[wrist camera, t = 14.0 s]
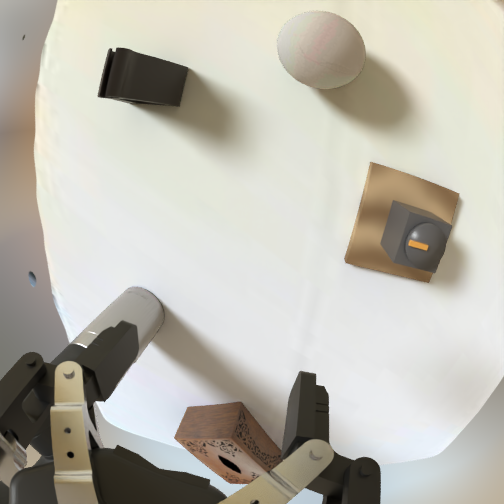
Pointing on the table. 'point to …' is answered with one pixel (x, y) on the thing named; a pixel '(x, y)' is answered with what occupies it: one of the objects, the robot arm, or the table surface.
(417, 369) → the table surface
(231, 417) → the tissue box cover
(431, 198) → the base plate
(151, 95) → the phone stand
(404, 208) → the knob
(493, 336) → the table surface
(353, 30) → the eye model
